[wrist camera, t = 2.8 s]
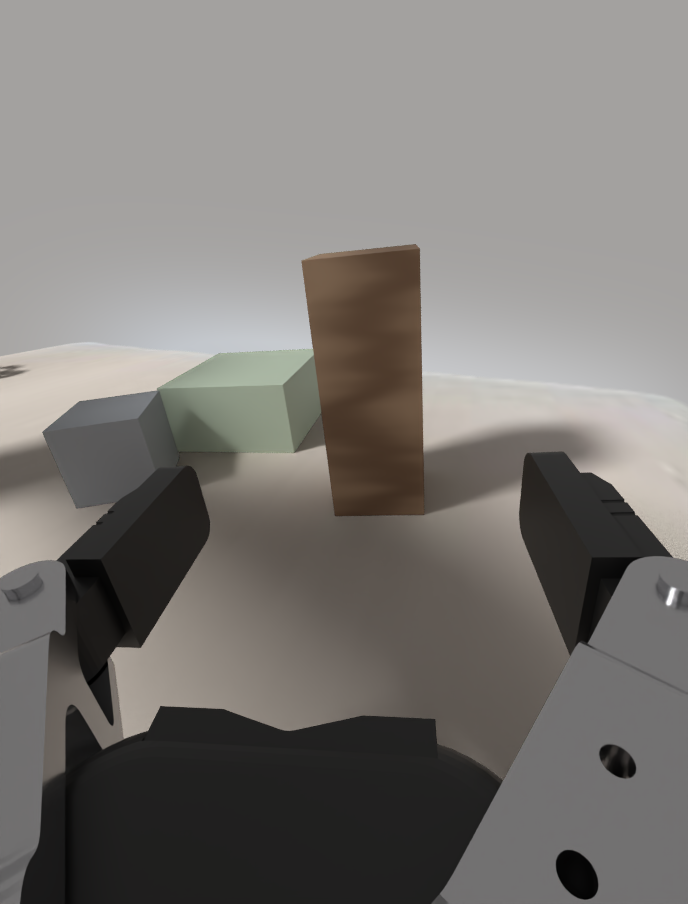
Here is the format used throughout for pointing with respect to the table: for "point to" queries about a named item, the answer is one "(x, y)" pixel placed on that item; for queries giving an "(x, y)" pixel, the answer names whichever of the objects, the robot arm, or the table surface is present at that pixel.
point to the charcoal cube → (111, 446)
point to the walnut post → (369, 376)
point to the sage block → (244, 402)
